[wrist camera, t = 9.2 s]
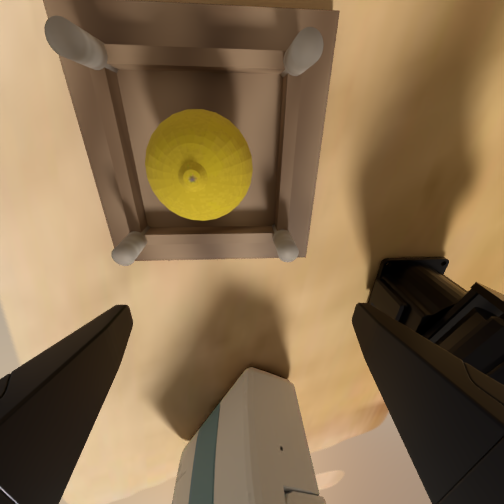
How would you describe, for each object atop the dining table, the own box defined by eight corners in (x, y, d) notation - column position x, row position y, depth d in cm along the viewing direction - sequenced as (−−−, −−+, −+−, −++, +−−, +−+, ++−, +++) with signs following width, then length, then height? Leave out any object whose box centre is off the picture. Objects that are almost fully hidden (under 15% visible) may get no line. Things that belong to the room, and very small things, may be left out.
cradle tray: (333, 17, 14) (377, -31, 10) (302, 252, 22) (320, 283, 17) (54, 4, 13) (-36, -57, 9) (123, 255, 21) (93, 290, 16)
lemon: (184, 208, 18) (152, 255, 11) (155, 127, 15) (89, 117, 8) (255, 191, 18) (272, 226, 11) (237, 106, 15) (243, 78, 8)
